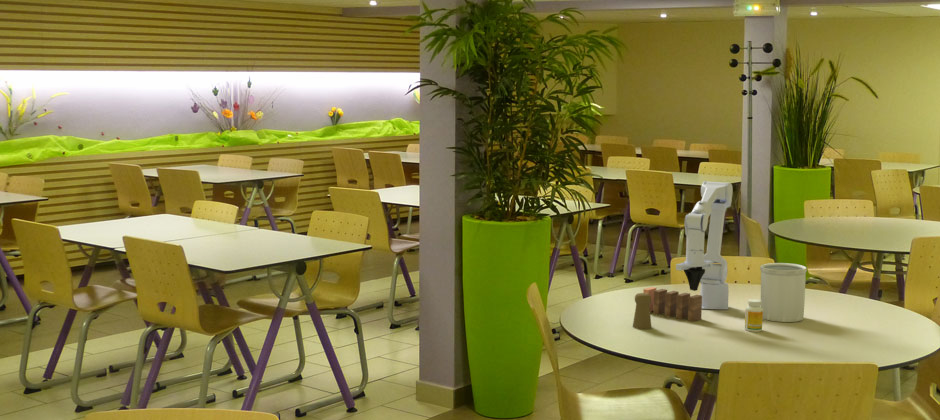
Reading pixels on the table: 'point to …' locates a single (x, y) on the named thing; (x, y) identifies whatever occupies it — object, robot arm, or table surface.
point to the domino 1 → (651, 293)
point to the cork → (642, 311)
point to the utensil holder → (783, 291)
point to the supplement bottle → (753, 316)
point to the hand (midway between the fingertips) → (693, 290)
